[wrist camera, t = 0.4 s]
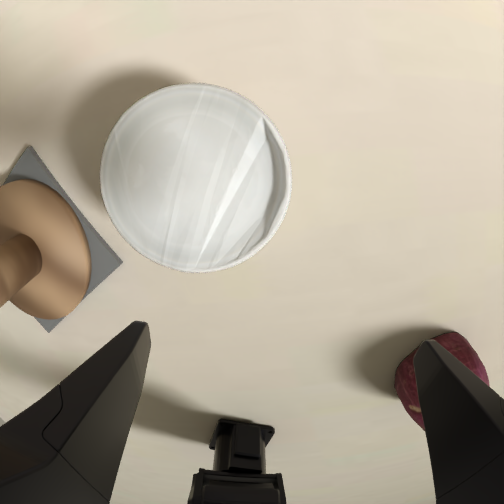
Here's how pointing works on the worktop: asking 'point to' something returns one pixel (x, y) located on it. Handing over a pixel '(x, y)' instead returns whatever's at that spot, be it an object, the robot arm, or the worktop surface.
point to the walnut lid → (41, 251)
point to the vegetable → (406, 373)
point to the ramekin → (196, 177)
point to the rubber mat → (100, 251)
